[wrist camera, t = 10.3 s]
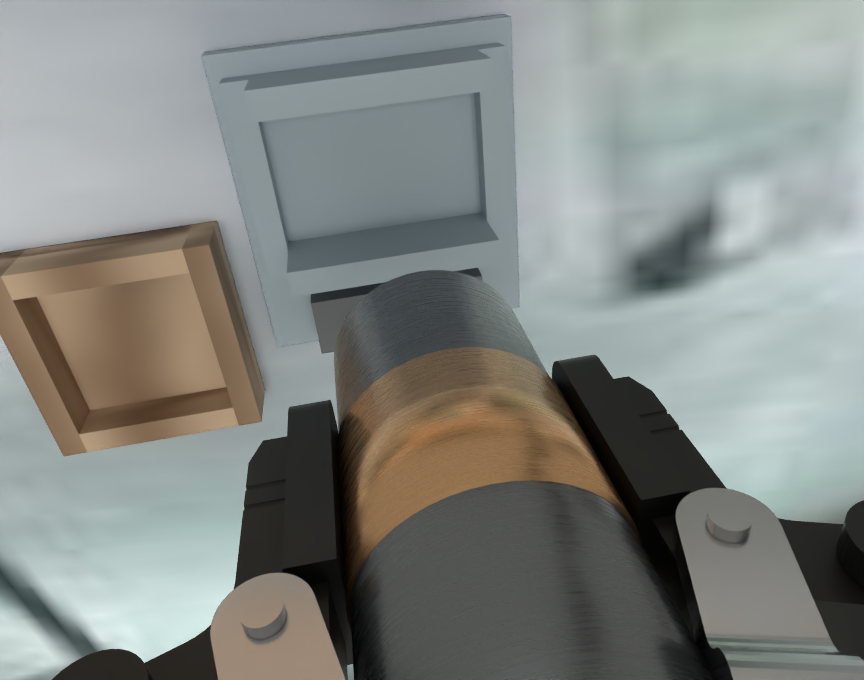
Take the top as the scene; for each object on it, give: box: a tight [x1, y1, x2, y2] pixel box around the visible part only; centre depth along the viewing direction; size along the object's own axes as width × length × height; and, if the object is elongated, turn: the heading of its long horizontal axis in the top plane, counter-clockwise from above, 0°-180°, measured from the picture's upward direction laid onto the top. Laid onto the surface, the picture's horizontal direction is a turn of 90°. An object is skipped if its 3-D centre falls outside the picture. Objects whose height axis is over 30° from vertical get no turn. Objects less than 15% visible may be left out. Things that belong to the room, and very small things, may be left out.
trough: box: [0, 221, 265, 456], centre depth 28 cm, size 8×8×2 cm
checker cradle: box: [201, 14, 520, 354], centre depth 26 cm, size 11×12×4 cm
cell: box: [334, 270, 713, 680], centre depth 10 cm, size 4×4×9 cm
